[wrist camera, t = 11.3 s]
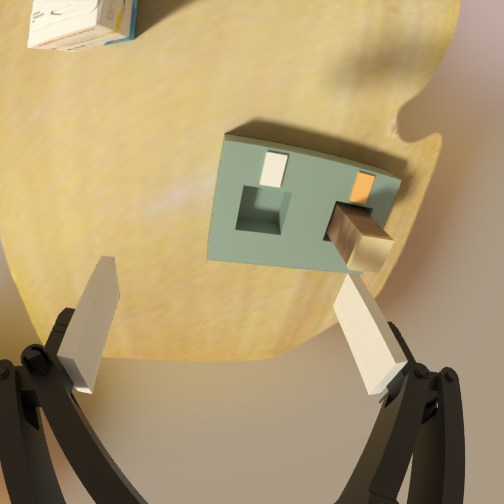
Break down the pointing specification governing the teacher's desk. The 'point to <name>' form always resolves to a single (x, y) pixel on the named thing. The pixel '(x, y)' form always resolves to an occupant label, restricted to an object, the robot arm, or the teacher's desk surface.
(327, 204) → the socket board
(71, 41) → the ink box
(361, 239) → the plug
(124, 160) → the teacher's desk surface
